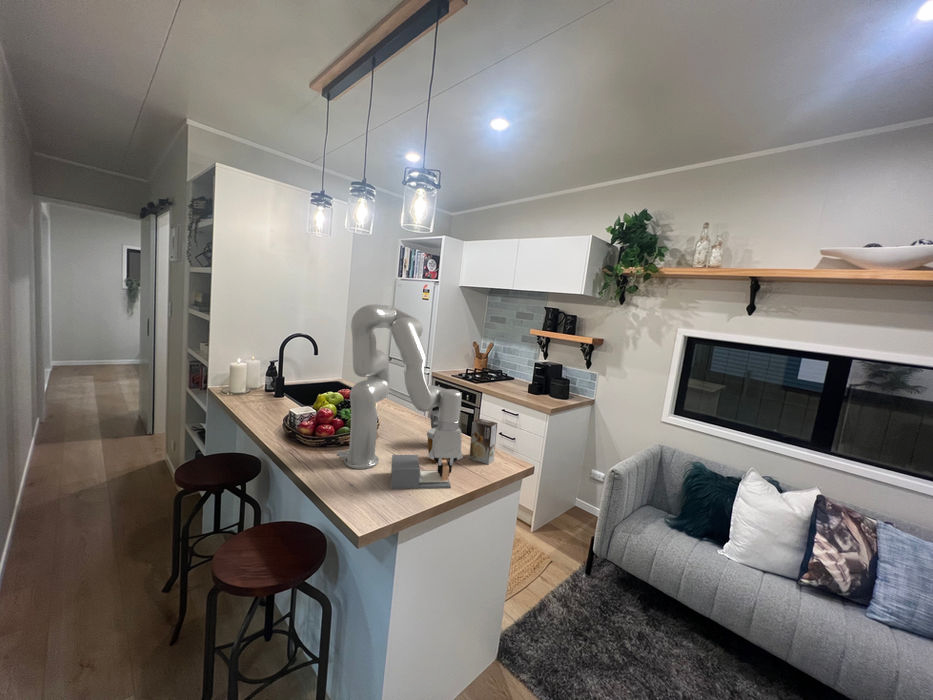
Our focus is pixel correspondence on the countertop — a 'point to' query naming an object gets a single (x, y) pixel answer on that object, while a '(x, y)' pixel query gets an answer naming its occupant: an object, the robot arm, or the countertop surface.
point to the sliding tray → (436, 474)
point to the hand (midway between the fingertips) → (444, 474)
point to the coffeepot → (434, 418)
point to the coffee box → (483, 441)
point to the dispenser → (410, 474)
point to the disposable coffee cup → (430, 440)
